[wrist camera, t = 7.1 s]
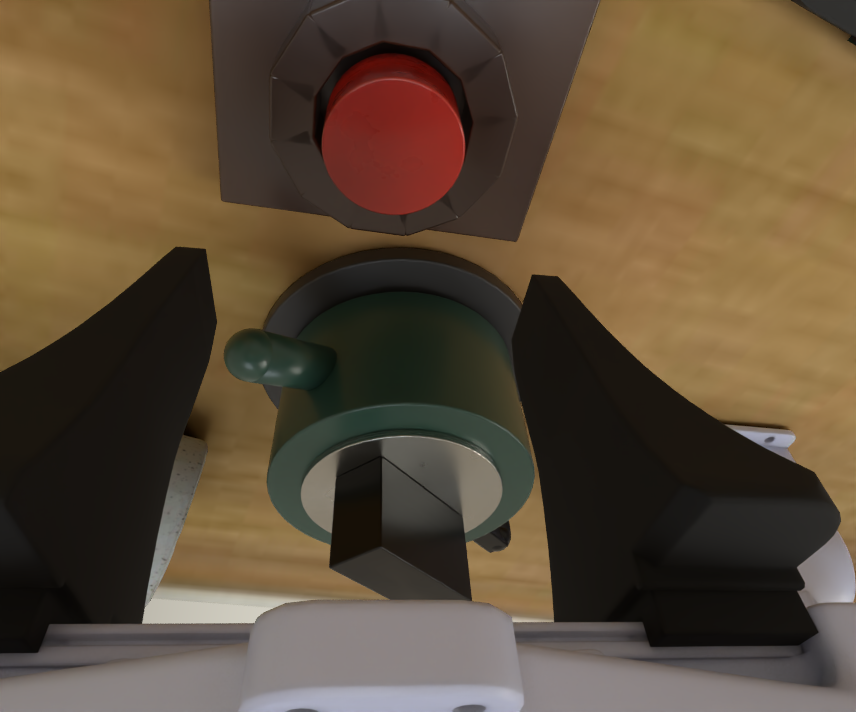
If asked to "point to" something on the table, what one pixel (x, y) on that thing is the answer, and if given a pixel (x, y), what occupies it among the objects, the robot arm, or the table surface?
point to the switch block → (403, 34)
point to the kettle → (394, 438)
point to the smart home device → (834, 13)
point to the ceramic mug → (176, 505)
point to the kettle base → (393, 290)
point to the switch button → (393, 135)
